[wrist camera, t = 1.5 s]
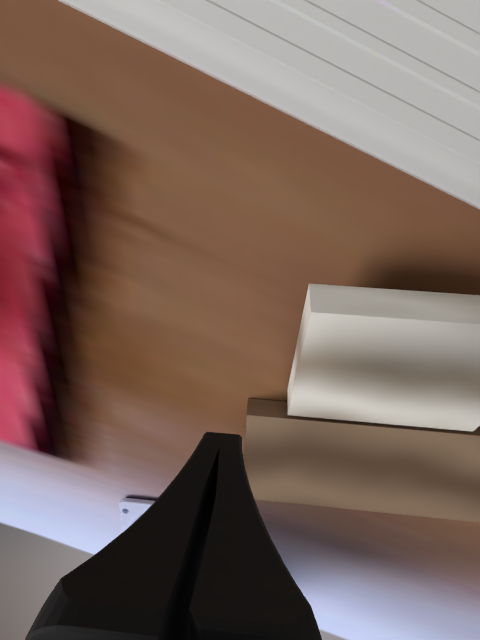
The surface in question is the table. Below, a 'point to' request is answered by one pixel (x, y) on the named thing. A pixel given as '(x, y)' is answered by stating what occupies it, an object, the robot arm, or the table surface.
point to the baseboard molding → (339, 69)
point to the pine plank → (388, 357)
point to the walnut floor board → (361, 464)
